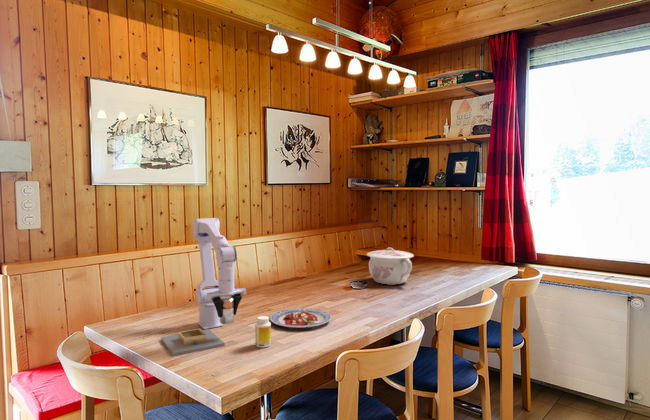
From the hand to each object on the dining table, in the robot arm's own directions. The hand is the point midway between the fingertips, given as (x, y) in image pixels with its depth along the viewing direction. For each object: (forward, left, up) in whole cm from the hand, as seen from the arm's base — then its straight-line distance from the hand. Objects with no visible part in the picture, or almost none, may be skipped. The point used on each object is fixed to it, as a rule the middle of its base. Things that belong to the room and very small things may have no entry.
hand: (226, 315), depth 166 cm
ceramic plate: (-5, +34, -10) cm, 36 cm away
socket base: (-4, -12, -9) cm, 16 cm away
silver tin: (0, 0, -2) cm, 2 cm away
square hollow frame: (-4, -12, -9) cm, 16 cm away
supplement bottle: (+12, +9, -10) cm, 18 cm away
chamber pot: (-40, +113, -10) cm, 120 cm away
